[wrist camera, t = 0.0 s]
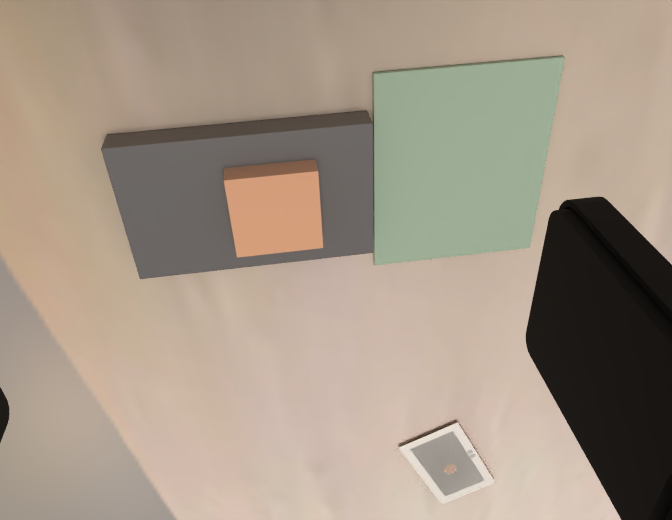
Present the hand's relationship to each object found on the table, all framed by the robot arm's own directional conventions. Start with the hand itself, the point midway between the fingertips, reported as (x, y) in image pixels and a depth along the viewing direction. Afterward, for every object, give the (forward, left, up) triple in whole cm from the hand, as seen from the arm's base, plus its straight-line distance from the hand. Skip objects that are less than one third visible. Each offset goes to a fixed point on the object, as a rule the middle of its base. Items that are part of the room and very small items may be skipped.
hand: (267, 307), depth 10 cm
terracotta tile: (+18, 0, -34) cm, 39 cm away
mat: (+18, +16, -37) cm, 44 cm away
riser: (+18, -2, -37) cm, 41 cm away
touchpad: (+60, +18, -37) cm, 73 cm away
